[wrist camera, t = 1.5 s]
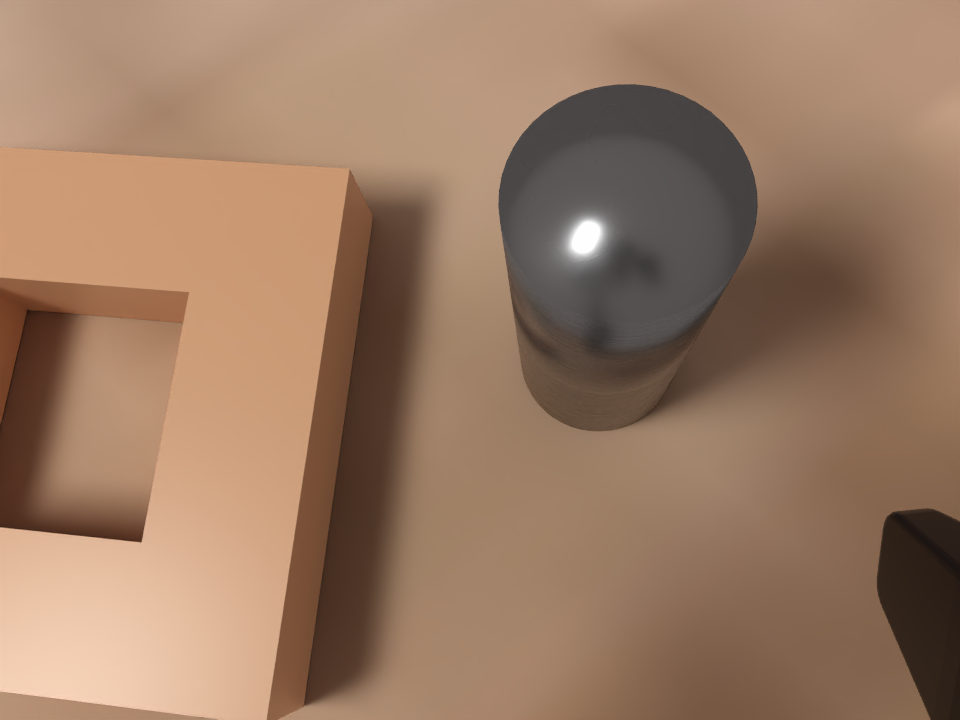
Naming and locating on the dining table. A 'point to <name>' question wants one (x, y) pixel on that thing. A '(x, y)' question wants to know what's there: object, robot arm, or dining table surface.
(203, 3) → the dining table surface
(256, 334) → the docking socket
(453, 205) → the dining table surface
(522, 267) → the cylinder
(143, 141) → the dining table surface
